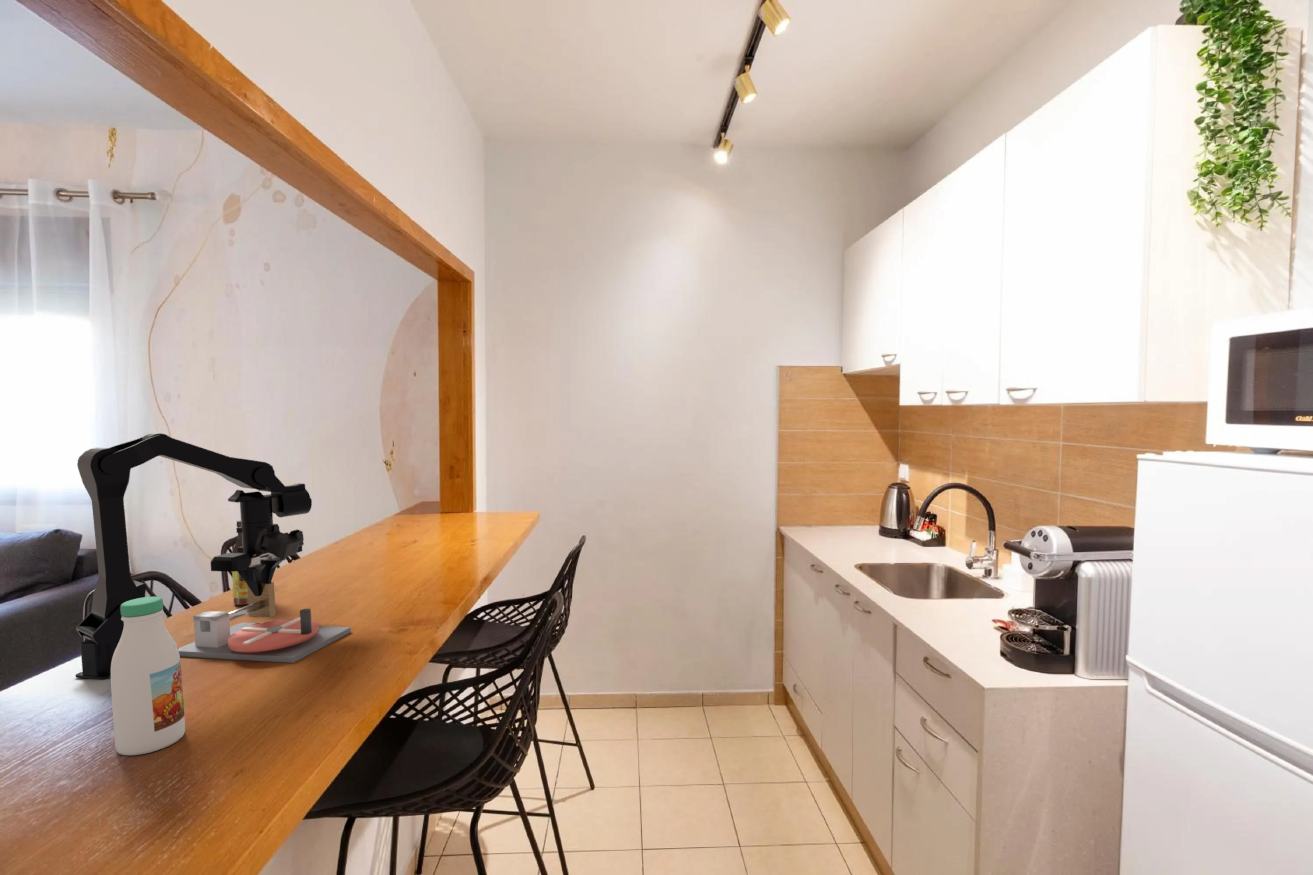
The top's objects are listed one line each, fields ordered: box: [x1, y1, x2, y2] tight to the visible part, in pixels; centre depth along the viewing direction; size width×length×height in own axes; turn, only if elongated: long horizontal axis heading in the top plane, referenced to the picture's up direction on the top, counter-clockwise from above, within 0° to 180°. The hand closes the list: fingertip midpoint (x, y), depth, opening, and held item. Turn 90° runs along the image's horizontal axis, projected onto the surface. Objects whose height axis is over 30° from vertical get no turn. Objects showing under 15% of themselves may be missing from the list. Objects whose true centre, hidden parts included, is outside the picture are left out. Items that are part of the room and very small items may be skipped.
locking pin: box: [229, 581, 277, 622], centre depth 133 cm, size 13×5×7 cm, turn 169°
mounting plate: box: [178, 610, 352, 664], centre depth 129 cm, size 16×26×7 cm, turn 79°
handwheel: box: [228, 608, 320, 652], centre depth 126 cm, size 15×15×6 cm
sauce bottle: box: [231, 519, 255, 606], centre depth 157 cm, size 6×6×20 cm
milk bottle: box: [110, 596, 186, 756], centre depth 91 cm, size 8×8×20 cm
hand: (261, 594), depth 139 cm, fingers closed on locking pin, 2 cm apart
